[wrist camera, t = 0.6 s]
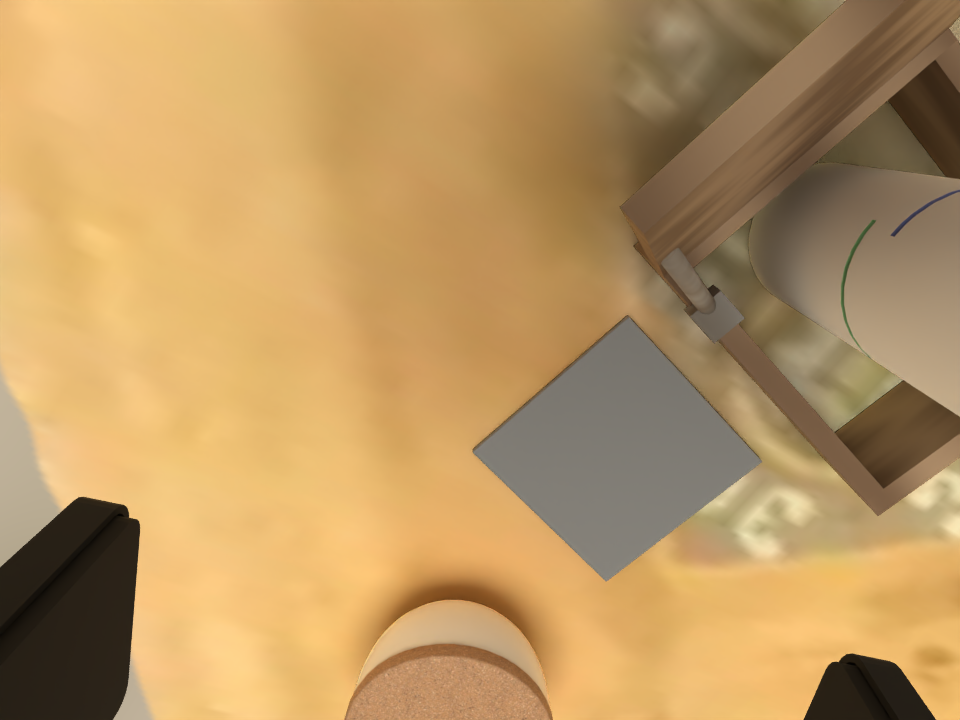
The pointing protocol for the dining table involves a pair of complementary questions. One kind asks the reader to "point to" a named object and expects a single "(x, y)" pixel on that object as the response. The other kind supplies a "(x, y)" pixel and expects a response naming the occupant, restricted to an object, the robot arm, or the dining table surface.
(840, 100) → the case
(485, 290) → the dining table surface
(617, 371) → the mat
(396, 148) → the dining table surface
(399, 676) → the lidded jar
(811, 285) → the cylindrical container
